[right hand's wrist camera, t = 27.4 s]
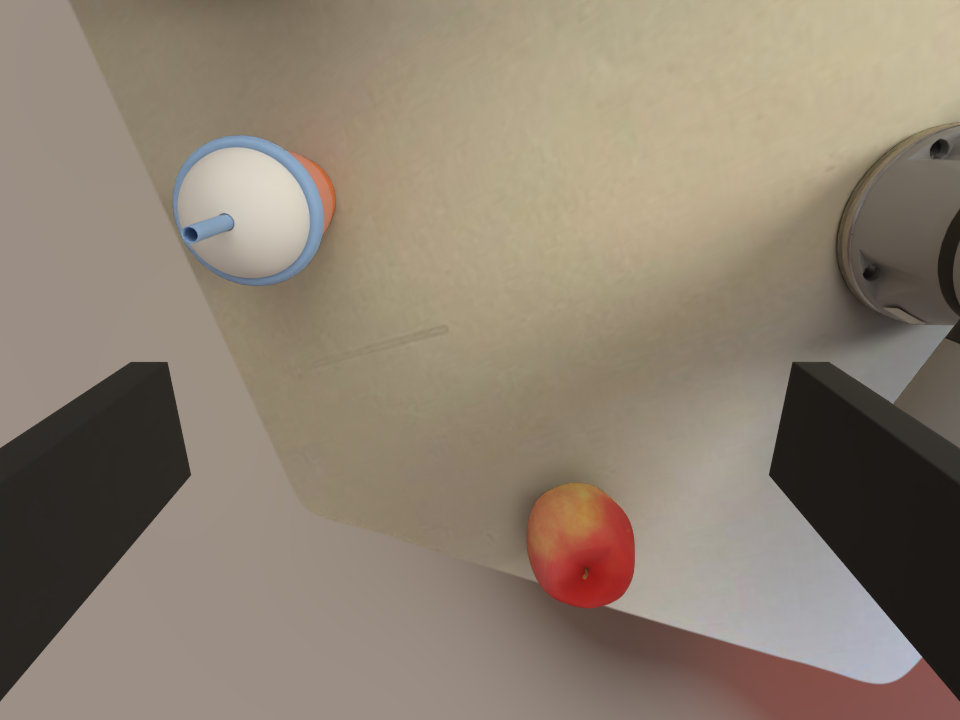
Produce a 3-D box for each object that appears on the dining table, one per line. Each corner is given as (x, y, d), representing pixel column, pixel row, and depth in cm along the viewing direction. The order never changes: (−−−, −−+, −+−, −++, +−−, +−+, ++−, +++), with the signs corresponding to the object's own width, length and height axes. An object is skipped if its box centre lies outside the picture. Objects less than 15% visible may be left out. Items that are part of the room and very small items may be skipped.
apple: (639, 485, 55) (671, 557, 46) (589, 559, 58) (610, 640, 49) (548, 447, 54) (562, 513, 44) (503, 525, 57) (507, 602, 47)
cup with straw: (245, 254, 47) (116, 321, 30) (230, 133, 44) (75, 134, 27) (358, 256, 47) (291, 324, 30) (351, 135, 44) (272, 137, 27)
